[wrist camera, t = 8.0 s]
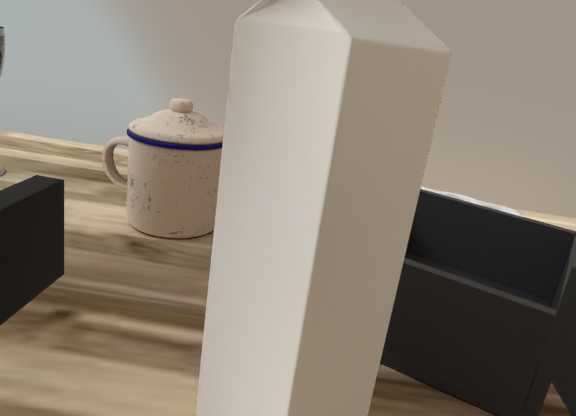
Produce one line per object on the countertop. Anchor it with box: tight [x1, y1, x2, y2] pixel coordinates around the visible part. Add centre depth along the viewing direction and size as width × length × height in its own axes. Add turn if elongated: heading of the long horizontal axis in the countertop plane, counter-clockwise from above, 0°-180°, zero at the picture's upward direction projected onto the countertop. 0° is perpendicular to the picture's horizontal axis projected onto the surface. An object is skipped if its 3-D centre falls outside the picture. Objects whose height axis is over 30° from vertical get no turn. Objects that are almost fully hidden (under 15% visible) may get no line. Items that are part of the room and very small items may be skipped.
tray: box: [380, 189, 576, 416], centre depth 39 cm, size 18×18×7 cm
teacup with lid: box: [102, 98, 224, 238], centre depth 48 cm, size 12×9×12 cm
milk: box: [195, 0, 452, 416], centre depth 22 cm, size 6×6×22 cm
